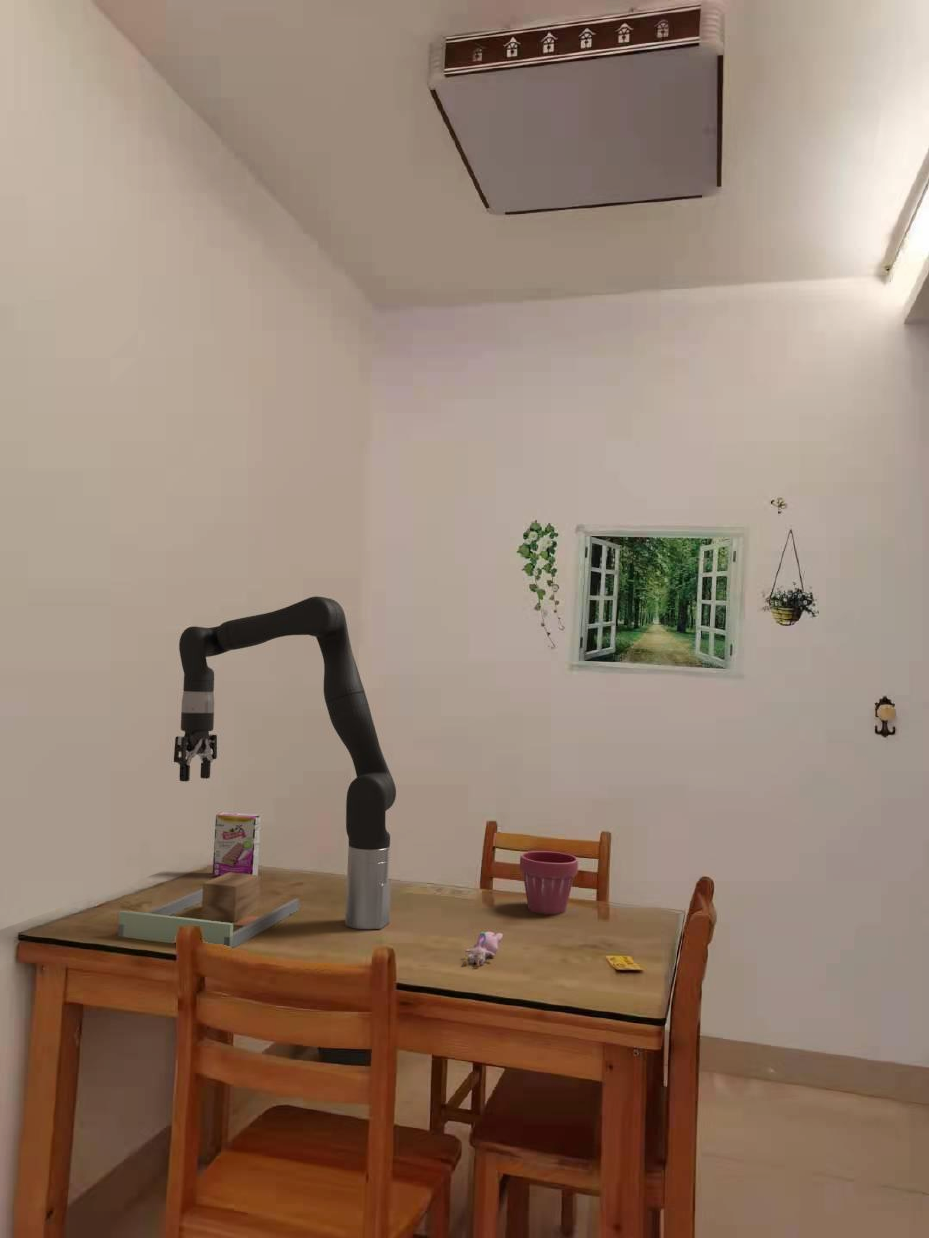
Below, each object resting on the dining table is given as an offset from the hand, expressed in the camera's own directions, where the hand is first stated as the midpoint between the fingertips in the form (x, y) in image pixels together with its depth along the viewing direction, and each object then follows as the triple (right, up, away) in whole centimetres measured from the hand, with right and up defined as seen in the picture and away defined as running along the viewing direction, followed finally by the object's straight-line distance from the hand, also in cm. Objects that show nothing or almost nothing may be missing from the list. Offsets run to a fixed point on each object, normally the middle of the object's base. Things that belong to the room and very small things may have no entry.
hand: (195, 779), depth 222 cm
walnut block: (+11, -29, -9) cm, 32 cm away
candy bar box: (+3, -31, +28) cm, 42 cm away
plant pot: (+84, -33, +6) cm, 90 cm away
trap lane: (+9, -28, -17) cm, 34 cm away
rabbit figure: (+68, -30, -33) cm, 81 cm away
